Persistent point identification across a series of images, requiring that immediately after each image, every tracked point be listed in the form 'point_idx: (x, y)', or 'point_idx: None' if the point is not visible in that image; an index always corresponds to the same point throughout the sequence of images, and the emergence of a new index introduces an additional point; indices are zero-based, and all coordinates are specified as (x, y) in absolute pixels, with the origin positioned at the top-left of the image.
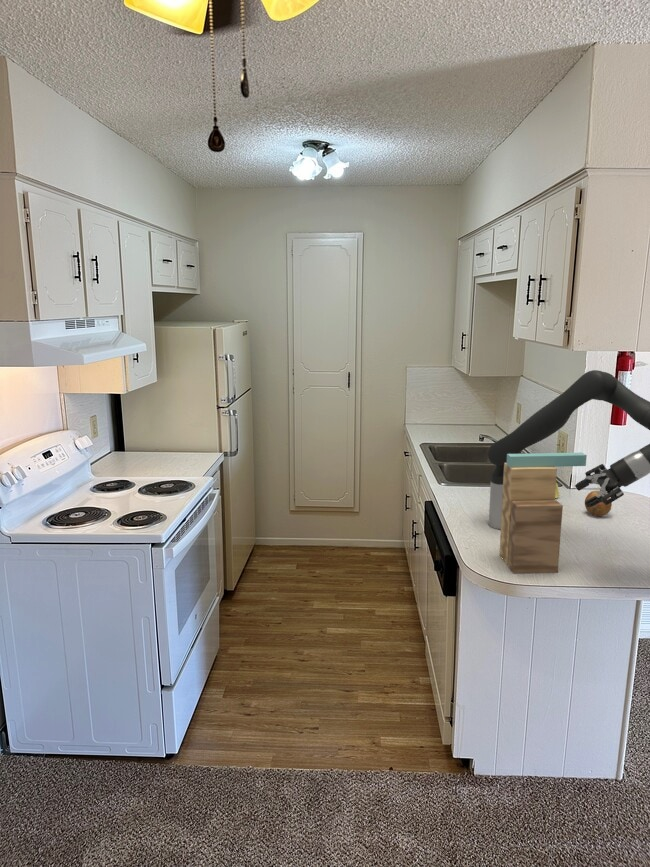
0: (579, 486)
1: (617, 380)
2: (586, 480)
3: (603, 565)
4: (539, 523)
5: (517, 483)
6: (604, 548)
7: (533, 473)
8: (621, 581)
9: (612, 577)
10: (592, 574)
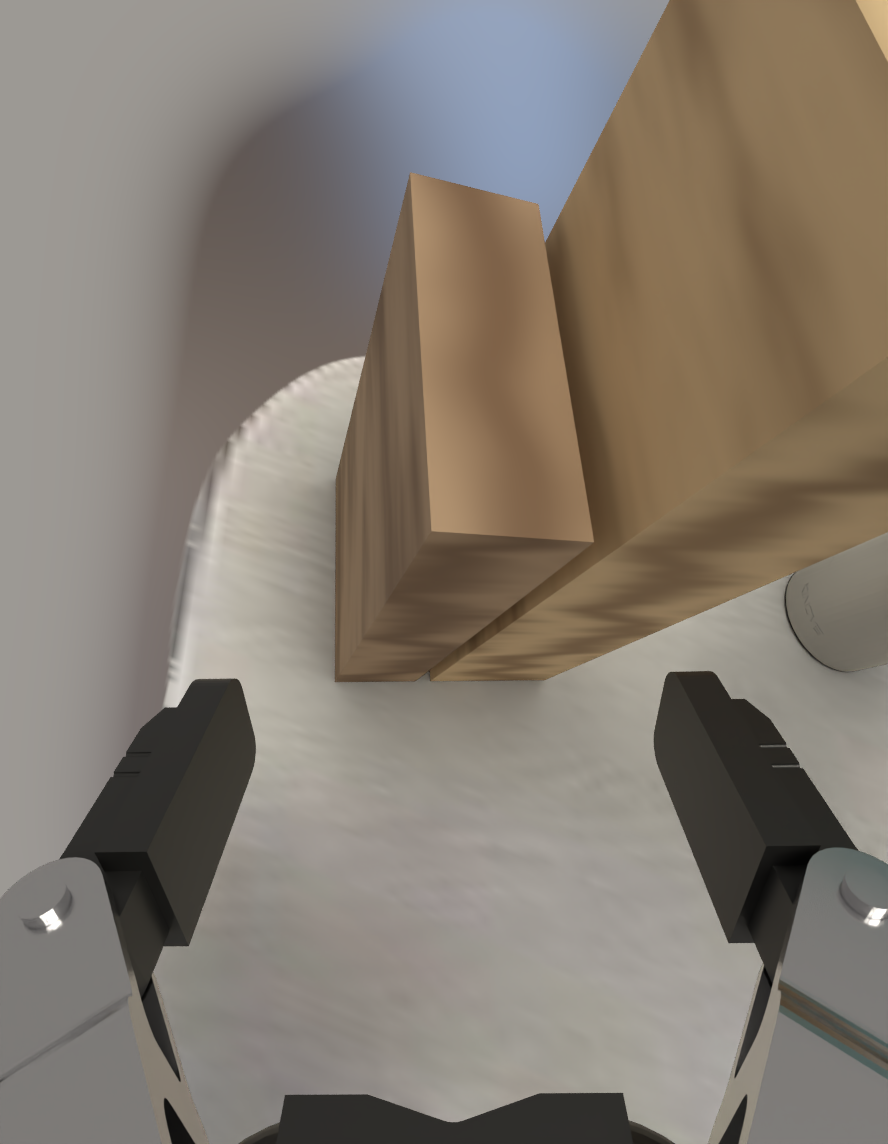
0: (683, 735)
1: None
2: (786, 866)
3: (417, 993)
4: (383, 434)
5: (657, 88)
6: (654, 1099)
7: (788, 73)
8: (185, 1032)
9: (249, 989)
10: (299, 870)
